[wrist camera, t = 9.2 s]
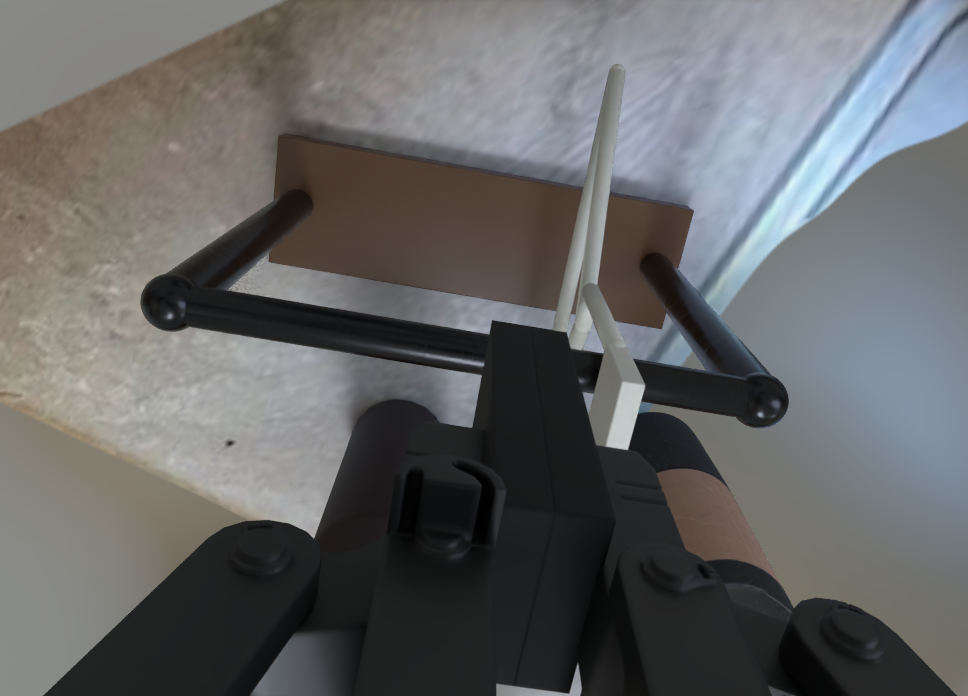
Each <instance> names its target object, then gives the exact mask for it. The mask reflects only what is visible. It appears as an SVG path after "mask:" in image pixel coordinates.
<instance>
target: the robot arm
mask: <svg viewBox="0 0 968 696" xmlns="http://www.w3.org/2000/svg"><path fill="white" fill-rule="evenodd" d="M661 489H662V487H661V484H660V482H659V479H658V476H657V474H656V471H655V469H654V468H653V467H652V466H651V465H650V464H649V463H648V462H647V461H646V460H645V459H644V458H643V457H642V456H641V455H640V454H639V453H638V452H637V451H631V450H625V449H618V448H612V447H605V446H599V445H596V443H595V439H594V435H593V431H592V427H591V424H590V420H589V416H588V412H587V408H586V405H585V401H584V397H583V393H582V389H581V386H580V382H579V378H578V374H577V370H576V367H575V363H574V359H573V355H572V351H571V348H570V344H569V340H568V336H567V332H561V331H555V330H549V329H543V328H536V327H530V326H524V325H518V324H512V323H506V322H499V321H493V320H492V324H491V329H490V335H489V340H488V346H487V351H486V356H485V362H484V367H483V373H482V378H481V384H480V389H479V395H478V400H477V406H476V411H475V417H474V422H473V427H472V428H468V427H461V426H455V425H449V424H442V423H436V422H429V421H425V422H423V423H422V424H421V425H420V426H419V427H417V428H416V429H415V430H414V431H412V432H411V433H410V435H409V439H408V444H407V449H406V454H405V459H404V463H403V464H401V466H400V467H399V469H398V471H397V472H396V474H395V479H394V486H393V493H392V500H391V506H390V513H389V520H388V527H387V531H386V532H385V533H384V534H383V535H382V536H381V538H379V539H378V540H376V541H374V542H373V543H371V544H369V545H367V546H364V547H361V548H358V549H355V550H349V551H342V552H333V553H320V548H319V544H318V543H317V542H316V541H315V540H314V539H313V538H312V537H311V536H310V535H309V534H308V533H307V532H306V531H304V530H302V529H300V528H297V527H295V526H293V525H291V524H288V523H282V522H276V521H270V520H260V521H245V522H241V523H238V524H235V525H231V526H228V527H224V528H223V529H221V530H220V531H218V532H217V533H215V534H214V535H212V536H211V537H209V538H208V539H207V540H206V541H205V542H204V543H202V544H201V545H200V546H199V547H198V548H197V549H196V550H195V551H194V552H193V553H192V554H191V555H190V556H189V557H188V558H187V559H186V560H185V561H184V562H183V563H182V564H180V565H179V566H178V567H177V568H176V569H175V570H174V571H173V572H172V573H171V574H170V575H169V576H168V577H167V578H166V579H165V580H164V581H163V582H162V583H161V584H159V585H158V586H157V587H156V588H155V589H154V590H153V591H152V592H151V593H150V594H149V595H148V596H147V597H146V598H145V599H144V600H143V601H142V602H141V603H140V604H139V605H138V606H136V608H134V610H132V611H131V612H130V613H129V614H128V615H127V616H126V617H125V618H124V619H123V620H122V621H121V622H120V623H119V624H118V625H117V626H116V627H115V628H113V629H112V630H111V631H110V632H109V634H107V635H106V636H105V637H104V638H103V639H102V640H101V641H100V642H99V643H98V644H97V645H96V646H95V647H94V648H93V649H92V650H90V651H89V652H88V653H87V654H86V655H85V656H84V657H83V658H82V659H81V660H80V661H79V662H78V663H77V664H76V665H75V666H74V667H73V668H72V669H71V670H70V671H68V672H67V674H65V675H64V676H63V677H62V678H61V679H60V680H59V681H58V682H57V683H56V684H55V685H54V686H53V687H52V688H51V689H50V690H49V691H48V692H47V693H45V695H43V696H496V684H501V685H508V686H516V687H523V688H530V689H537V690H545V691H552V692H559V693H567V694H569V693H570V689H571V686H572V682H573V678H574V675H575V671H576V667H577V664H578V666H579V673H580V680H581V687H582V690H581V694H580V696H957V695H956V694H955V693H954V692H953V691H952V690H951V689H950V688H949V687H948V686H947V685H946V684H945V683H944V682H943V681H942V680H941V679H940V678H939V677H938V676H937V675H936V674H935V673H934V672H933V671H932V670H931V669H930V668H929V667H928V665H926V664H925V662H924V661H923V660H922V659H921V658H920V657H919V656H918V655H917V654H916V653H915V652H914V651H913V650H912V649H911V648H910V647H909V646H908V645H907V644H906V643H905V642H904V641H903V640H902V639H901V638H900V637H899V636H898V635H897V634H896V633H895V632H894V631H892V630H891V629H890V628H889V627H888V626H886V625H885V624H884V623H883V622H881V621H880V620H879V619H877V618H876V617H874V616H872V615H870V614H868V613H866V612H865V611H863V610H862V609H860V608H858V607H856V606H853V605H851V604H850V605H848V604H847V603H845V602H840V601H837V600H830V599H822V598H813V599H809V600H803V601H801V602H800V603H799V604H798V605H797V606H796V607H795V608H794V609H793V611H792V613H791V616H790V619H789V621H788V622H785V621H782V620H779V619H777V618H774V617H771V616H768V615H765V614H763V613H760V612H757V611H754V610H751V609H749V608H747V607H744V606H742V605H740V604H737V603H735V602H733V601H731V598H730V596H729V594H728V592H727V589H726V587H725V585H724V582H723V581H722V579H721V578H720V576H719V575H718V573H717V572H716V571H715V569H714V568H713V567H712V566H710V565H709V564H708V563H707V562H705V561H704V560H703V559H702V558H700V557H699V556H697V555H695V554H693V553H691V552H689V551H687V550H686V549H685V546H684V544H683V541H682V538H681V536H680V533H679V531H678V528H677V526H676V523H675V520H674V518H673V515H672V513H671V510H670V507H669V506H667V503H668V502H667V500H666V497H665V494H664V492H663V491H661Z"/></svg>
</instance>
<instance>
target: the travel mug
mask: <svg viewBox="0 0 968 696" xmlns="http://www.w3.org/2000/svg"><path fill="white" fill-rule="evenodd" d="M628 450H631V451H637V452H638V453H639V454H640V455H641V456H642V457H643V458H644V459H645V460H646V461H647V462H648V463H649V464H650V465H651V466H652V467H653V468H654V469H655V471H656V474H657V476H658V479H659V482H660V484H661V487H662V489H661V491H663V492H664V494H665V497H666V500H667V502H668V503H667V506H669V507H670V510H671V513H672V515H673V518H674V520H675V523H676V526H677V528H678V531H679V533H680V536H681V538H682V541H683V544H684V546H685V549H686V550H687V551H689V552H691V553H693V554H695V555H697V556H699V557H700V558H702V559H703V560H704V561H705V562H707V563H708V564H709V565H710V566H712V567H713V568H714V569H715V571H716V572H717V573H718V575H719V576H720V578H721V579H722V581H723V582H724V585H725V587H726V589H727V592H728V594H729V596H730V598H731V601H733V602H735V603H737V604H740V605H742V606H744V607H747V608H749V609H751V610H754V611H757V612H760V613H763V614H765V615H768V616H771V617H774V618H777V619H779V620H782V621H785V622H788V621H789V619H790V616H791V613H792V611H793V609H794V608H793V606H792V604H791V602H790V600H789V598H788V597H787V595H786V593H785V591H784V589H783V587H782V585H781V584H780V582H779V580H778V578H777V576H776V574H775V572H774V571H773V569H772V567H771V565H770V564H769V561H768V559H767V557H766V556H765V554H764V552H763V550H762V548H761V546H760V544H759V543H758V541H757V539H756V537H755V535H754V533H753V531H752V530H751V528H750V526H749V524H748V522H747V520H746V518H745V517H744V515H743V513H742V511H741V509H740V507H739V505H738V503H737V502H736V500H735V498H734V496H733V495H732V493H731V491H730V489H729V488H728V486H727V484H726V483H725V481H724V480H723V478H722V477H721V475H720V473H719V472H718V470H717V469H716V467H715V466H714V464H713V462H712V461H711V459H710V457H709V456H708V454H707V453H706V451H705V450H704V448H703V447H702V445H701V443H700V442H699V440H698V439H697V437H696V435H695V434H694V433H693V431H692V430H691V429H690V428H689V427H688V426H687V425H686V424H685V423H684V422H683V421H681V420H680V419H678V418H676V417H674V416H671V415H669V414H665V413H658V412H647V413H641V414H637V418H636V422H635V425H634V429H633V433H632V436H631V440H630V444H629V447H628Z"/></svg>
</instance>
